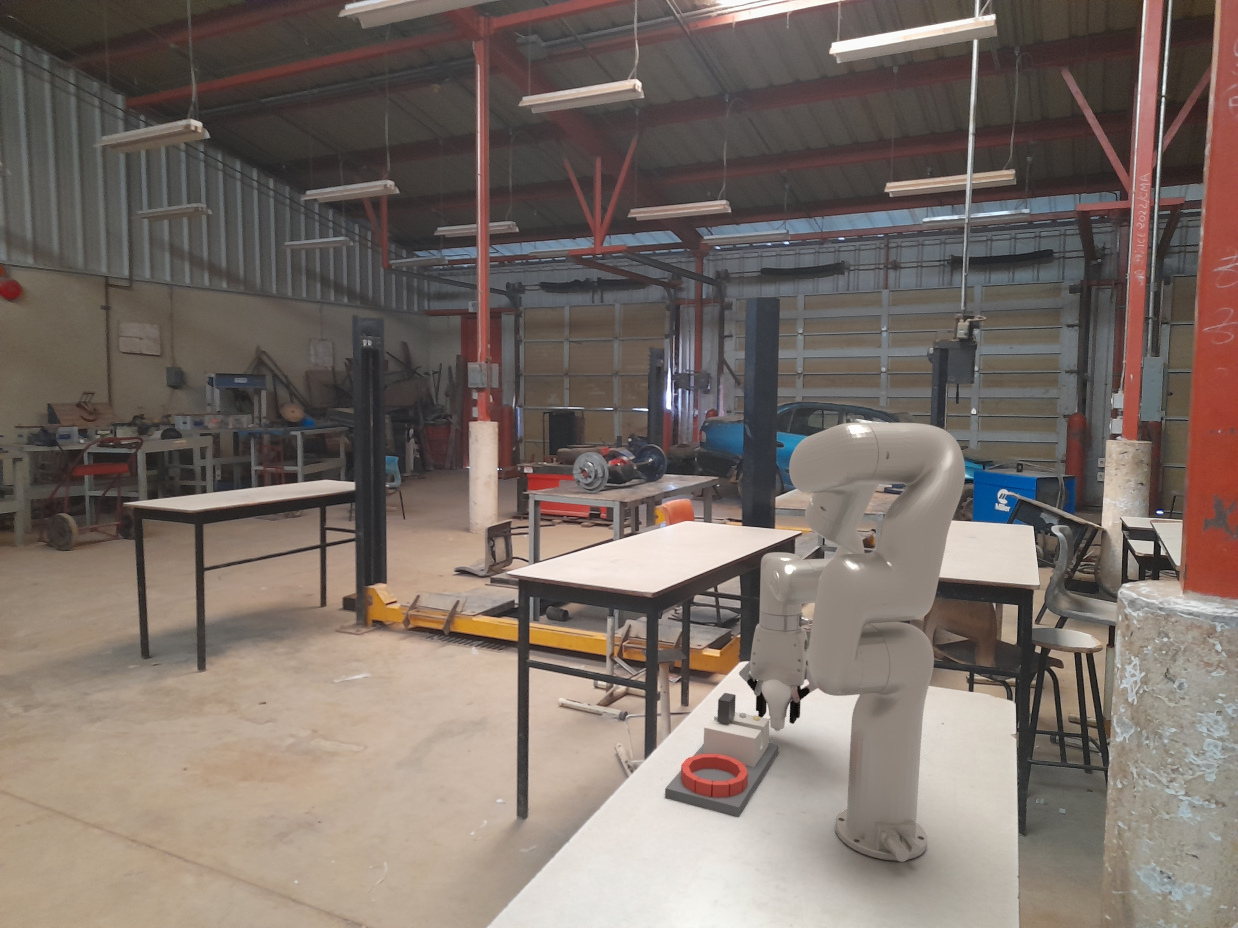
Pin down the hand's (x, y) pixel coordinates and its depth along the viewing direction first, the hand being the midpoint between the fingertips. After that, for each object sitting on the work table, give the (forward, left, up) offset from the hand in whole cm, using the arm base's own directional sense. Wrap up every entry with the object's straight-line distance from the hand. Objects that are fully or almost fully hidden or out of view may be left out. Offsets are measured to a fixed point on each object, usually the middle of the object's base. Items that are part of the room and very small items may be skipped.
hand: (777, 717), depth 144 cm
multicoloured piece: (-11, +13, -5) cm, 18 cm away
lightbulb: (0, 0, -3) cm, 3 cm away
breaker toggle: (-5, +11, -1) cm, 12 cm away
